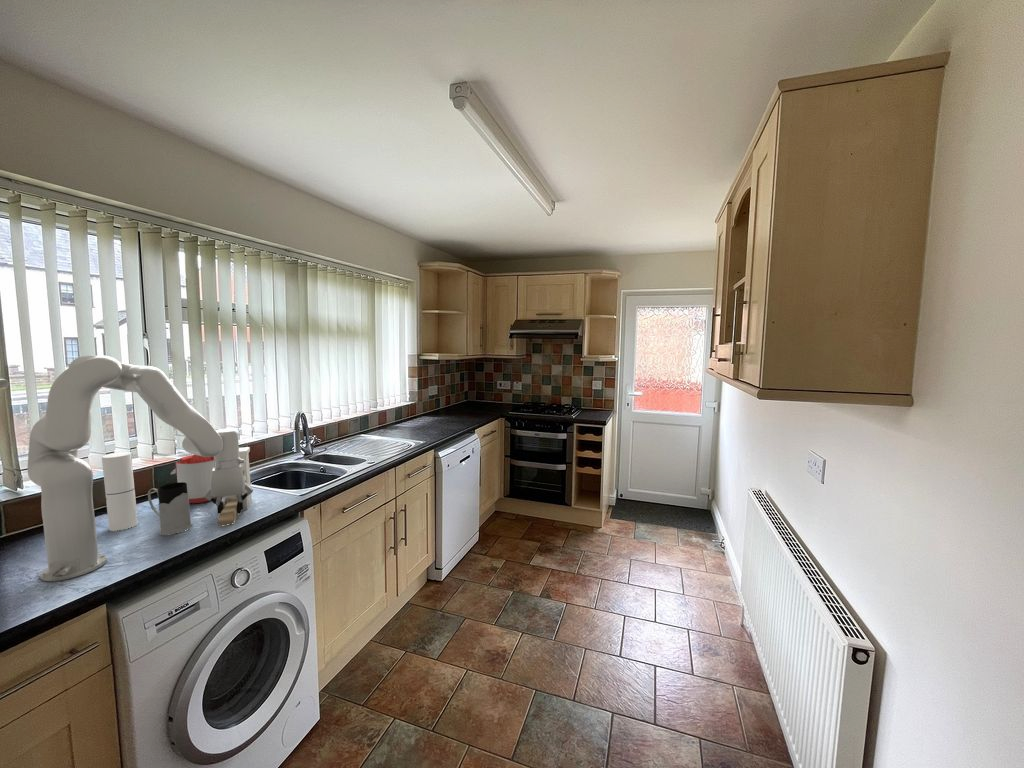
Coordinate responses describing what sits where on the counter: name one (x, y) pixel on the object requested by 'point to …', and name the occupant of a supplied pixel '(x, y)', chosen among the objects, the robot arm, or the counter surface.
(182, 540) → the counter surface
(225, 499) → the tall white box
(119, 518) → the cylindrical container
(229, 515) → the rail
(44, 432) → the robot arm
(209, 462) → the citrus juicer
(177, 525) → the grey mug
